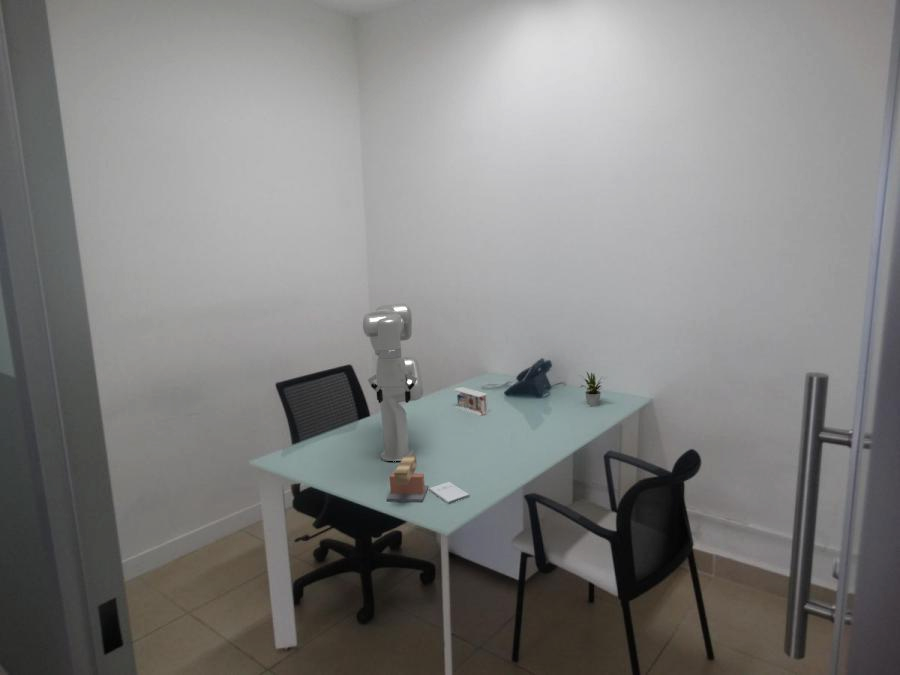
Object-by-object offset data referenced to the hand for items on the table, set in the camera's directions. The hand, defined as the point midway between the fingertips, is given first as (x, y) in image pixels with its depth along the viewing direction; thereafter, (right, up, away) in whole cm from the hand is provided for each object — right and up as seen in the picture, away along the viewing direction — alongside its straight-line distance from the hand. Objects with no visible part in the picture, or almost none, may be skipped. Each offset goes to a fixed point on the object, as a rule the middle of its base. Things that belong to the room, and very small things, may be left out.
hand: (394, 401), depth 198 cm
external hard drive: (+19, -30, -9) cm, 37 cm away
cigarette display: (+30, -13, +75) cm, 82 cm away
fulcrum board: (+6, -30, -8) cm, 32 cm away
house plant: (+87, -10, +73) cm, 114 cm away
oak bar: (+5, -23, -10) cm, 26 cm away
